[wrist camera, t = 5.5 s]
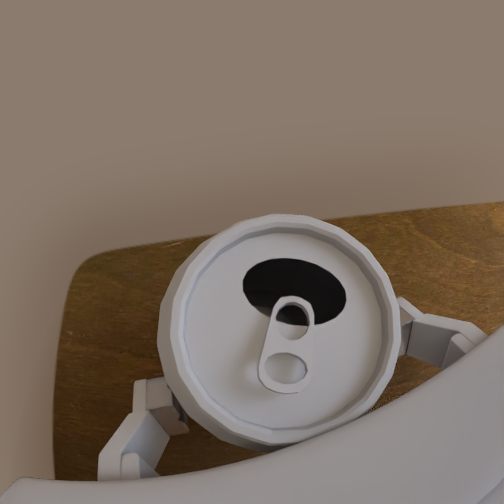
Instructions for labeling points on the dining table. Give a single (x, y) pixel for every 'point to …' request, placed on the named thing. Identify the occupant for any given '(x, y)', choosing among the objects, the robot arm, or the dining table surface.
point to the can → (278, 331)
